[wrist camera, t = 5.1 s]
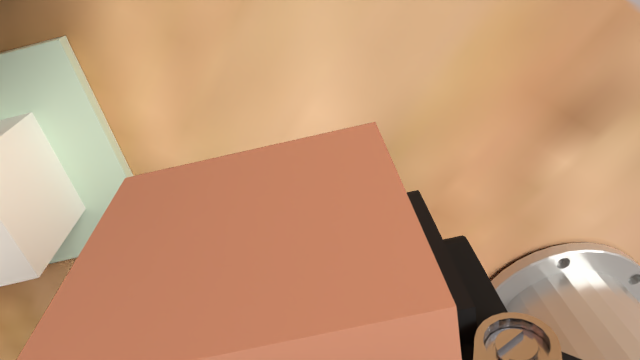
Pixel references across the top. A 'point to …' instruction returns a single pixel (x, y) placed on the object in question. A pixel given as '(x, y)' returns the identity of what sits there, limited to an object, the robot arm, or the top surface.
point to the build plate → (66, 127)
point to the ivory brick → (31, 200)
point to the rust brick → (257, 264)
